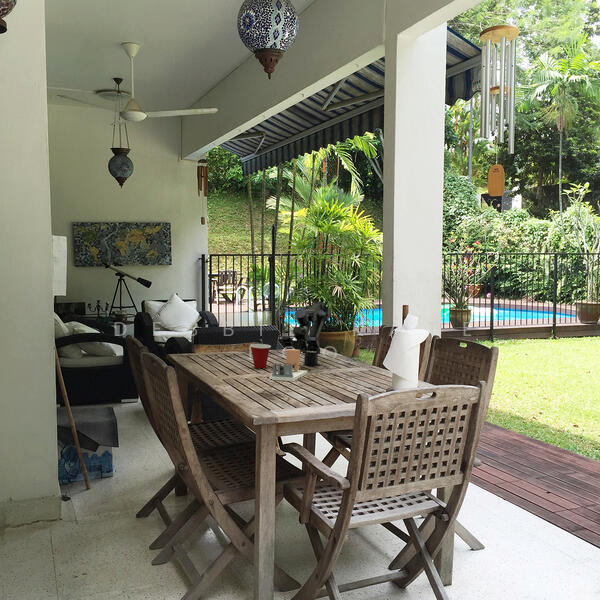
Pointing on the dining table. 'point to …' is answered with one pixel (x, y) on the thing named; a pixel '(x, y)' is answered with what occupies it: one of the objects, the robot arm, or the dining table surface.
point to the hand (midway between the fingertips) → (296, 355)
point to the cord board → (295, 376)
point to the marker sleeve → (293, 358)
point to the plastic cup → (260, 354)
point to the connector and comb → (286, 369)
